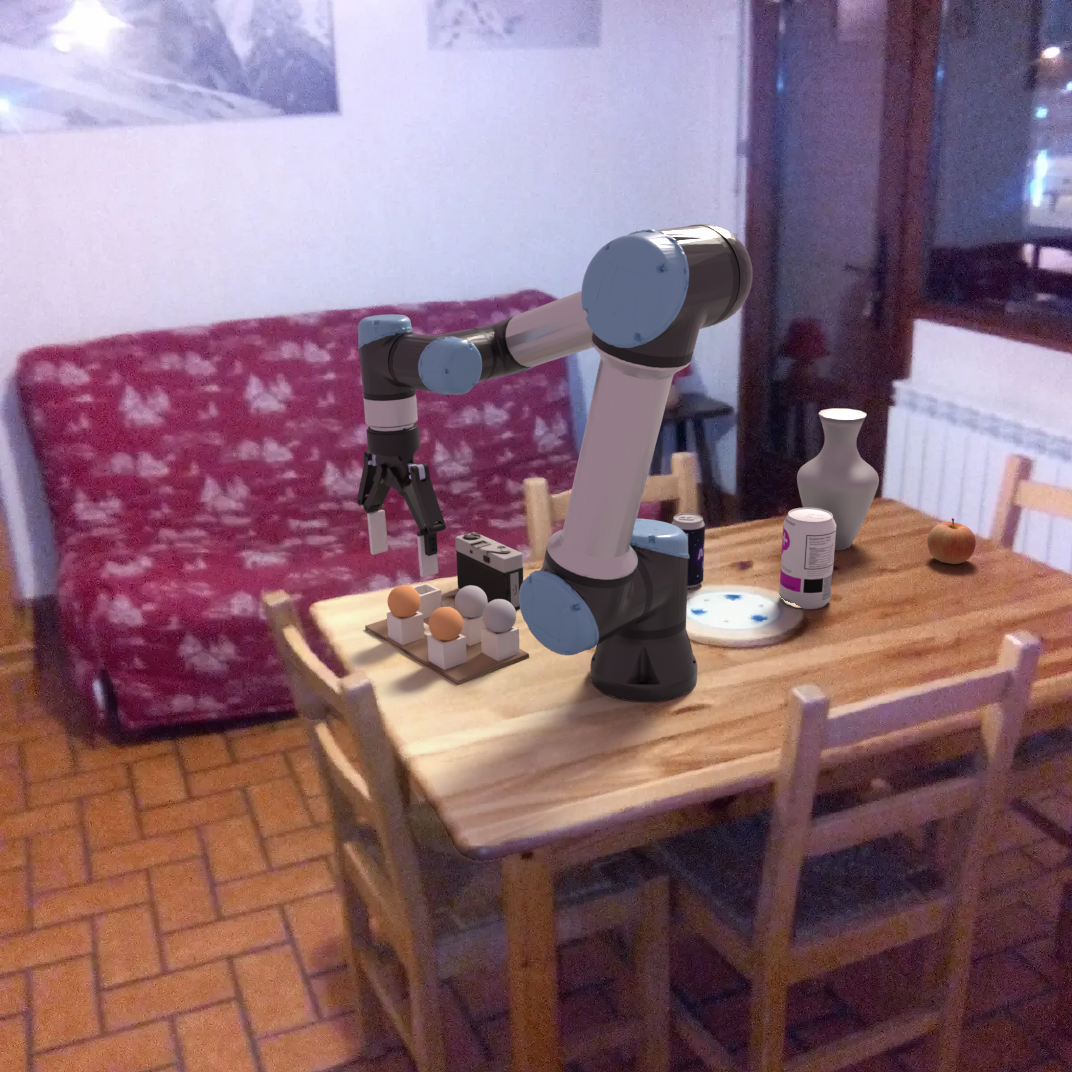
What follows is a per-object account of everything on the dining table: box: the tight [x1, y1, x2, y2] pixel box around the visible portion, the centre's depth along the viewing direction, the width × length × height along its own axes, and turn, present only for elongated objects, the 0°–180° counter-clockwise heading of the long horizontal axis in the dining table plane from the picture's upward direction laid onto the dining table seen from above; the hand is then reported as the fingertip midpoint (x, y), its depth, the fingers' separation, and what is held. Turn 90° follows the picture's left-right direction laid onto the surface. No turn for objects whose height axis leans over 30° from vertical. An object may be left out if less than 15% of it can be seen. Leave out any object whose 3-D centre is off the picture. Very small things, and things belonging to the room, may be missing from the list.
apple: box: [926, 517, 977, 565], centre depth 199 cm, size 8×8×8 cm
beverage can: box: [670, 512, 706, 589], centre depth 190 cm, size 6×6×12 cm
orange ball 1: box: [387, 584, 421, 618], centre depth 171 cm, size 5×5×5 cm
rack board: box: [364, 617, 530, 685], centre depth 172 cm, size 25×13×1 cm, turn 39°
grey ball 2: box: [482, 599, 517, 633], centre depth 165 cm, size 5×5×5 cm
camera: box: [454, 531, 524, 611], centre depth 188 cm, size 14×8×10 cm, turn 38°
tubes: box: [386, 582, 520, 670], centre depth 172 cm, size 24×12×4 cm, turn 39°
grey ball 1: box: [454, 585, 488, 619], centre depth 170 cm, size 5×5×5 cm
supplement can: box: [778, 507, 836, 610], centre depth 182 cm, size 8×8×15 cm
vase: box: [796, 407, 880, 551], centre depth 205 cm, size 14×14×25 cm
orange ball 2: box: [429, 606, 463, 641], centre depth 163 cm, size 5×5×5 cm
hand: (403, 563), depth 168 cm, fingers open, 13 cm apart
